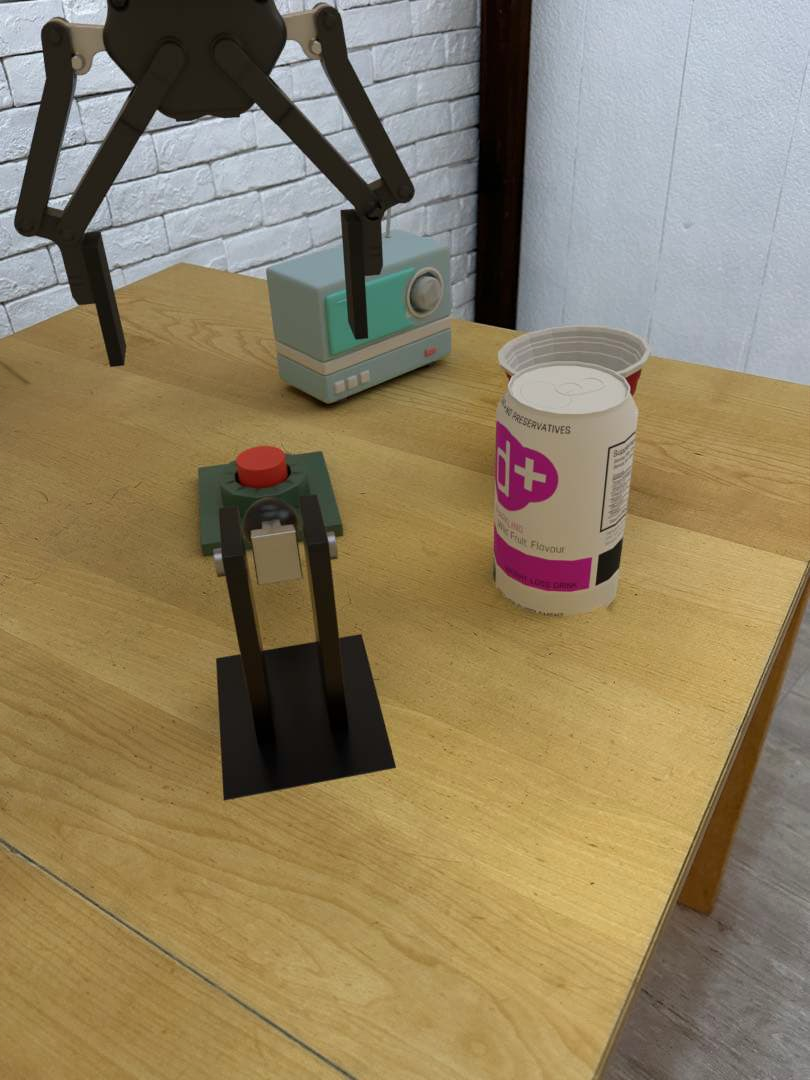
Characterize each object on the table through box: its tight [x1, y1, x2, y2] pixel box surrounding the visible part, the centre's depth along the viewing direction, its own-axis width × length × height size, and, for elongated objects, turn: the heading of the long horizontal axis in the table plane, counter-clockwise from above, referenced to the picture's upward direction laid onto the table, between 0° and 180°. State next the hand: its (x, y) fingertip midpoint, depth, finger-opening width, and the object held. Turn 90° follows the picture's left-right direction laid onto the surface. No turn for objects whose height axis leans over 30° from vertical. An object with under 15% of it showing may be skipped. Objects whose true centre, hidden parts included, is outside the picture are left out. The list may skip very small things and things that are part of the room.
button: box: [235, 445, 288, 489], centre depth 67 cm, size 4×4×2 cm
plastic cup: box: [497, 324, 653, 399], centre depth 68 cm, size 11×11×12 cm
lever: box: [242, 497, 304, 586], centre depth 51 cm, size 16×4×4 cm, turn 12°
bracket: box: [212, 494, 397, 802], centre depth 48 cm, size 11×9×14 cm
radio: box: [265, 146, 452, 405], centre depth 84 cm, size 16×9×20 cm, turn 131°
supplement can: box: [492, 362, 640, 617], centre depth 57 cm, size 8×8×15 cm
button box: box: [197, 450, 344, 557], centre depth 68 cm, size 11×10×4 cm
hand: (240, 343), depth 52 cm, fingers open, 13 cm apart
